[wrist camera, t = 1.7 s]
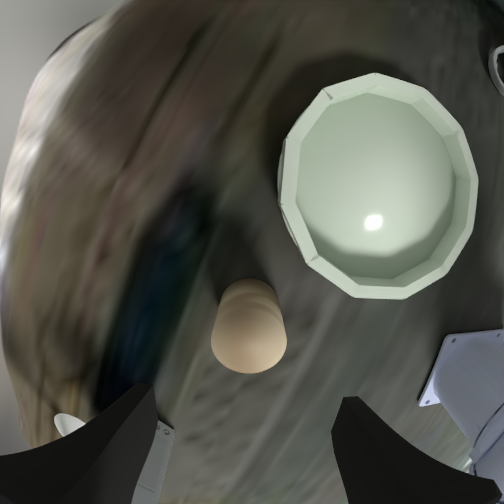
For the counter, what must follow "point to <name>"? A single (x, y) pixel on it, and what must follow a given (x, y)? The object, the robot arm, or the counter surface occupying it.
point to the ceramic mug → (492, 65)
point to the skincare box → (154, 467)
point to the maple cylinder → (249, 327)
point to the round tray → (377, 187)
